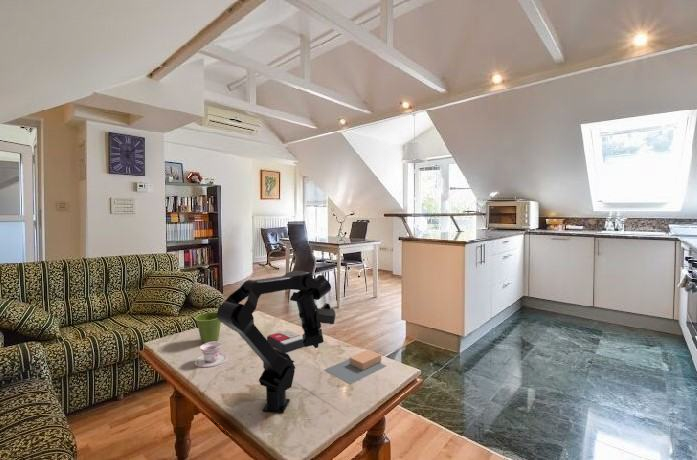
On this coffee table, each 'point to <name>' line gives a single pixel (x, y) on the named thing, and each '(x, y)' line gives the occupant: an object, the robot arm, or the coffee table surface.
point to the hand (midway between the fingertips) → (316, 347)
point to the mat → (352, 371)
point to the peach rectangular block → (365, 359)
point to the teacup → (211, 355)
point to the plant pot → (208, 326)
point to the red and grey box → (286, 341)
